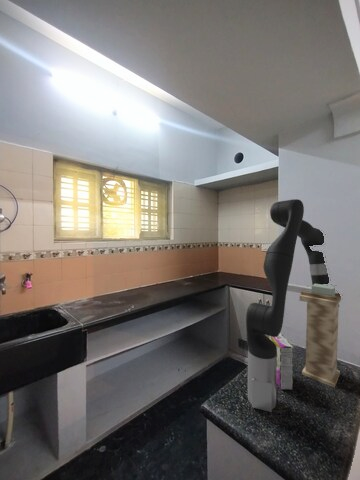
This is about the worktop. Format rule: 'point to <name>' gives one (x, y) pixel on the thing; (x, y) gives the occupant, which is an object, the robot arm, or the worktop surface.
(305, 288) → the handle block
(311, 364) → the shelf stand
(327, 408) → the worktop surface
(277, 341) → the candy bar box
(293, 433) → the worktop surface
